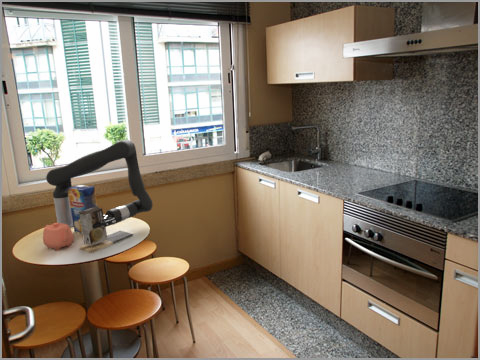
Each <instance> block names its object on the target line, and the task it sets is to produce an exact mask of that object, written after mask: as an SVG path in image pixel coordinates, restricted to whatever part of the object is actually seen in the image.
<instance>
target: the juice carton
mask: <svg viewBox="0 0 480 360" xmlns="http://www.w3.org/2000/svg"><path fill="white" fill-rule="evenodd" d="M67 190H68V196H69V202H70V208H71V214H72V220H73V226H72V227H73V231H74V232H76V233H81V234H83V233H82V227H81V222H80V217H79V212H80V211H83V210H86V209H89V208H92V207H98V202H97V201H98V200H97V196H96V195H97V194H96V189H95V186H91V185H82V184H78V185H77V184H76V185H74V186H72V187H71V188H67Z"/></svg>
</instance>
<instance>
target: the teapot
mask: <svg viewBox="0 0 480 360" xmlns="http://www.w3.org/2000/svg"><path fill="white" fill-rule="evenodd" d="M74 238H75V237H74V234H73V231H72V229H71V227H69V226H68V225H67V224H63V223H58V222H54V223H52V224H46V225H45V226H44V228H43V233H42V241H43V244H44V245H45V246H46V247H47V249H54V250H55V252H57V251H60V250H61V248H63V247H70V246H72V243H74V240H75V239H74Z"/></svg>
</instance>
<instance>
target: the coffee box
mask: <svg viewBox="0 0 480 360" xmlns="http://www.w3.org/2000/svg"><path fill="white" fill-rule="evenodd" d="M103 211H104V210H103V208H101V207H100V206H97V207H92V208H89V209H86V210H83V211H80V212H79V217H80V222H81V227H82V233H81V234H82V237H83V243H84V245H85V244H87V245H90V246H93V245H95V244H97V243H100V242H102V241H105V240H107V239H108V238H107V236H108V234H107V228H106V227H104V226H103V227H98V228H96V229H93V226H92V225H93V224H95V223H98V222H100V221H103V219H104V216H103V215H104V212H103Z"/></svg>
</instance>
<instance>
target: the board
mask: <svg viewBox="0 0 480 360" xmlns="http://www.w3.org/2000/svg"><path fill="white" fill-rule="evenodd" d="M133 236H134V235H133V233H132V232H128V231H123V230H118V231H115V232H113V233H110V234H107V238H108V239H107V240H105V241H102V242H100V243H97V244H95V245H93V246H90V245H87V244H85V243H84V244H82V245H80V246H78V249H79V250H82V251H85V252H87V253H89V254H92V253H96V252H98V251H100V250H102V249H104V248H107V247H110V246H113V245H114V244H117V243H119V242H121V241H123V240H126V239H128V238H130V237H133Z"/></svg>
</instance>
